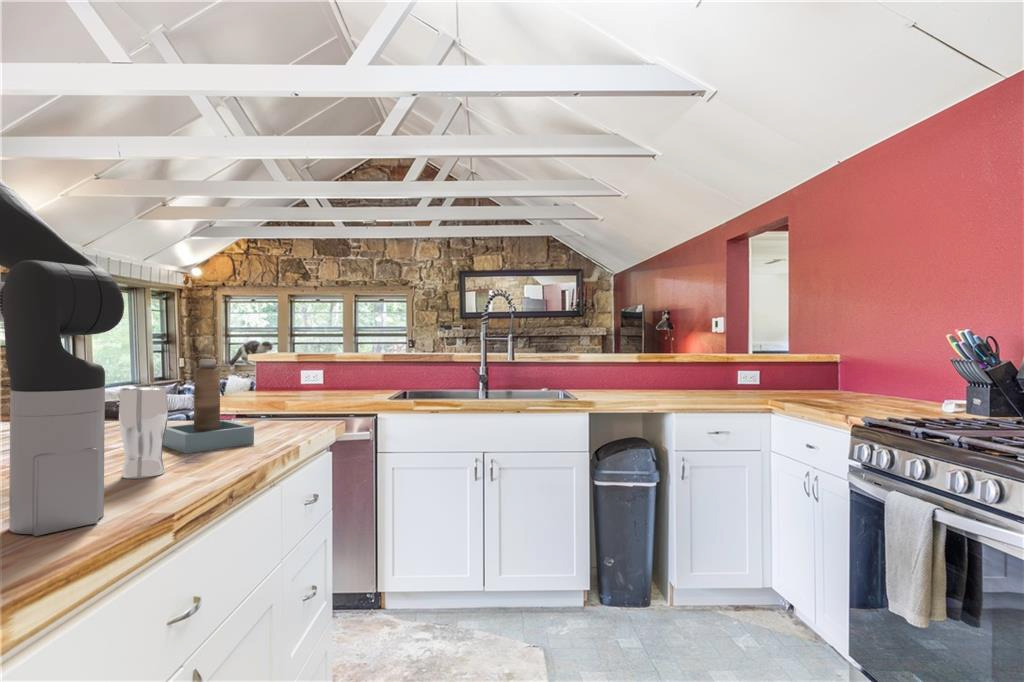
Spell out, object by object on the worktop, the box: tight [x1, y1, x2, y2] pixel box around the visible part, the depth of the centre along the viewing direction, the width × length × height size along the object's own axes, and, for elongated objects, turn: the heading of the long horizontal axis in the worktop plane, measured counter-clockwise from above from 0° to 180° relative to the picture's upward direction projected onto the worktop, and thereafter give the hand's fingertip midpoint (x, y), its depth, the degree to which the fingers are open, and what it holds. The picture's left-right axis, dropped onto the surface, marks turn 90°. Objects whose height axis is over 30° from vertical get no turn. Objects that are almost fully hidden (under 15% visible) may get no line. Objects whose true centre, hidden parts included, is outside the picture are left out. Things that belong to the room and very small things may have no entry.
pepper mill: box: [193, 358, 221, 433], centre depth 117 cm, size 5×5×18 cm
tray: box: [162, 419, 255, 454], centre depth 117 cm, size 14×14×4 cm
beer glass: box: [118, 385, 169, 480], centre depth 91 cm, size 7×7×15 cm
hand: (113, 305), depth 104 cm, fingers open, 8 cm apart
